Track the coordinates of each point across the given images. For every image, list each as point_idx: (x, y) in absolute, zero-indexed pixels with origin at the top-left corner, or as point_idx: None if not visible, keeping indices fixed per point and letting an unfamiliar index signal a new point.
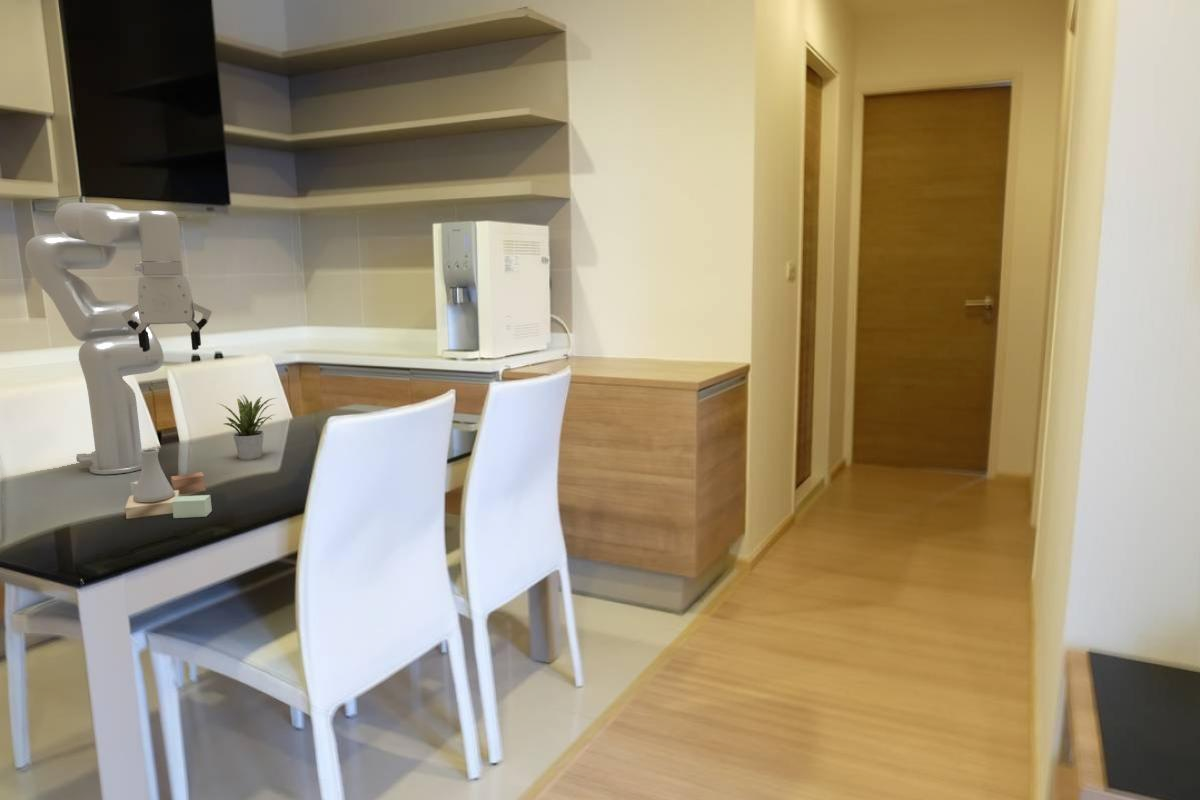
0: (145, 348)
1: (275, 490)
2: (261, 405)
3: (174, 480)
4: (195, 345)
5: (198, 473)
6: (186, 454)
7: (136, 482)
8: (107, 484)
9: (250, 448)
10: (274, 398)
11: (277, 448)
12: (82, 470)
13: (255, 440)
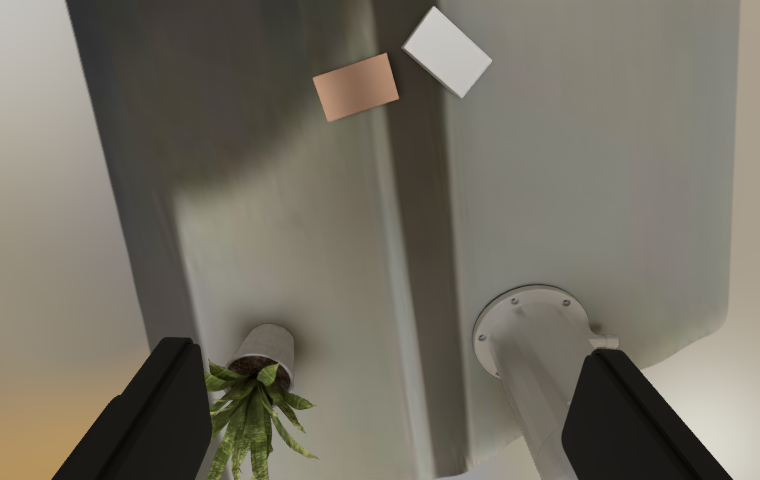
0: (606, 368)
1: (130, 5)
2: None
3: (384, 53)
4: (149, 368)
5: (332, 107)
6: (410, 399)
7: (478, 62)
8: (545, 210)
9: (257, 337)
10: None
11: None
12: None
13: (239, 351)
